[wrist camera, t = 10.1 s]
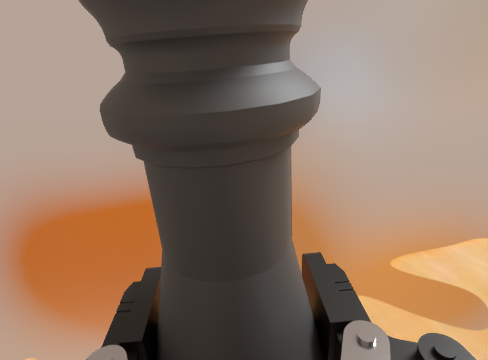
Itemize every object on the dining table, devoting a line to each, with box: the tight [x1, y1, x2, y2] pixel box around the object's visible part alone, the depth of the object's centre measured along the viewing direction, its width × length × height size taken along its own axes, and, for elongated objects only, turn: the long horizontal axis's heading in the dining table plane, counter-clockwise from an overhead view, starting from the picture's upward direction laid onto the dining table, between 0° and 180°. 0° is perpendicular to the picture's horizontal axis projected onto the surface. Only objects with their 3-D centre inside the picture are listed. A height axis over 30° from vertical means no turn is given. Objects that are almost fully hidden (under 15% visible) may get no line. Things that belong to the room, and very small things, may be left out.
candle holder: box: [79, 0, 324, 360], centre depth 10 cm, size 6×6×25 cm
